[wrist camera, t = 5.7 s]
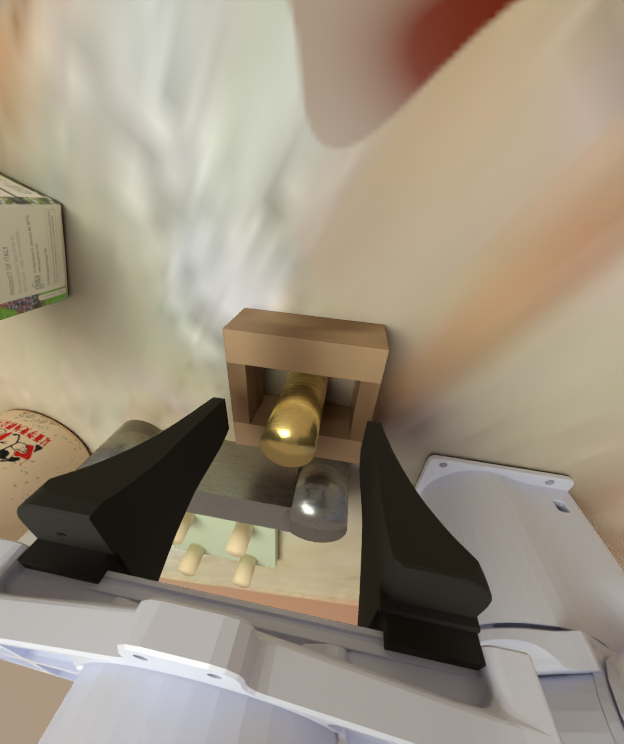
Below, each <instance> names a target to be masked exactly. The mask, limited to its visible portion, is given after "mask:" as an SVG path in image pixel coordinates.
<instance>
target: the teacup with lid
mask: <svg viewBox="0 0 624 744" xmlns="http://www.w3.org/2000/svg"><path fill="white" fill-rule="evenodd" d="M89 456H90V455H89V453H88V451H87V449H86V447H85V446H84V445H83V443H82V442H81V441H80V440H79V439H78V438H77V437H76V436H75V435H74V434H73V433H72V432H70V431H69V430H68V429H67V428H65V427H64V426H62V425H61V424H59V423H57V422H56V421H54V420H52V419H50V418H48V417H45V416H43V415H40V414H38V413H34V412H30V411H25V410H11V411H7V412H5V413H2V414H1V415H0V538H4V539H8V540H13V541H18V540H19V539H20V538H21V537H22V536H23V535H24V534H25V533H26V532H27V531H28V530H29V529H28V528H27V527H26V526H25V525H24V524H23V523H22V522H21V520H20V519H19V518H18V515H17V508H18V506H20V505H21V504H22V503H23V502H24V501H25V500H26V499H27V498H28V497H30V496H31V495H32V494H33V493H34V492H35V491H36V490H37V489H38V488H40V487H41V486H42V485H43V484H44V483H45V482H46V481H47V480H49V479H50V478H53V477H57V476H60V475H63V474H66V473H69V472H72V471H75V470H76V469H77V468H78V467H79V466H80V465H81V464H82V463H83V462H84V461H85V460H86V459H87V458H88V457H89Z"/></svg>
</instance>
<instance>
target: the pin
mask: <svg viewBox="0 0 624 744" xmlns="http://www.w3.org/2000/svg"><path fill="white" fill-rule="evenodd" d="M327 385H328V376H321V375H314V374H307V373H300V372H292V371H290V372H289V374H288V376H287V379H286V381H285V383H284V386H283V388H282V390H281V393H280V395H279V397H278V400H277V402H276V404H275V407H274V409H273V411H272V414H271V416H270V418H269V421H268V423H267V425H266V428H265V430H264V432H263V435H262V437H261V440H260V446H261V449H262V451H263V453H264V454H265V456H266V457H267V458H269V459H270V460H271V461H273V462H274V463H276V464H279V465H281V466H285V467H300V466H304V465H306V464H308V463H309V462H310V461H311V460H312V459H313V457H314V455H315V450H316V444H317V439H318V434H319V428H320V423H321V417H322V412H323V406H324V401H325V396H326V390H327Z"/></svg>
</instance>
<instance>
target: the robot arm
mask: <svg viewBox="0 0 624 744" xmlns="http://www.w3.org/2000/svg"><path fill="white" fill-rule="evenodd" d="M228 430H229V425H228V417H227V410H226V402H225V399H222V398H215V397H213V398H212V399H210V400H209V401H207V402H206V403H205V404H203V405H202V406H200V407H199V408H197V409H196V410H195V411H193V412H192V413H190V414H189V415H187V416H186V417H184V418H183V419H181V420H180V421H179V422H177V423H175V424H174V425H172V426H170V427H169V428H167V429H166V430H164V431H162V432H161V433H159V434H157V435H156V436H154V437H152V438H150V439H148V440H146V441H145V442H143V443H141V444H139V445H137V446H135V447H133V448H130V449H128V450H126V451H124V452H122V453H119V454H117V455H115V456H113V457H110V458H108V459H105V460H103V461H100V462H98V463H95V464H92V465H90V466H87V467H84V468H81V469H78V470H75V471H72V472H69V473H66V474H63V475H60V476H57V477H53V478H50V479H49V480H47V481H46V482H45V483H44V484H43V485H42V486H41V487H40V488H38V489H37V490H36V491H35V492H34V493H33V494H32V495H31V496H30V497H28V498H27V499H26V500H25V501H24V502H23V503H22V504H21V505H20V506H18V508H17V515H18V518H19V519H20V520H21V522H22V523H23V524H24V525H25V526H26V527H27V528H28V529H29V530H30V531H31V532H32V533H33V534H34V536H35V537H36V538H37V539H36V540H35V541H34V542H33V544H32V545H31V546H28V545H26V544H24V543H21V542H17V541H13V540H8V539H4V538H0V659H2V660H6V661H9V662H12V663H15V664H19V665H22V666H25V667H29V668H32V669H36V670H38V671H42V672H45V673H48V674H52V675H55V676H58V677H61V678H65V679H68V680H71V681H74V683H73V685H72V687H71V689H70V690H69V692H68V694H67V695H66V697H65V699H64V700H63V702H62V704H61V706H60V707H59V709H58V710H57V712H56V714H55V716H54V717H53V719H52V721H51V722H50V724H49V726H48V728H47V729H46V731H45V732H44V734H43V736H42V738H41V739H40V741H39V743H38V744H624V571H623V569H622V568H621V566H620V565H619V563H618V562H617V561H616V559H615V558H614V556H613V555H612V554H611V552H610V551H609V549H608V548H607V546H606V545H605V544H604V542H603V541H602V539H601V538H600V536H599V535H598V534H597V532H596V531H595V529H594V528H593V526H592V525H591V524H590V522H589V521H588V519H587V518H586V516H585V515H584V514H583V512H582V511H581V509H580V508H579V507H578V505H577V504H576V502H575V501H574V499H573V498H572V497H571V495H570V494H569V492H568V491H569V490H570V489H571V488H572V487H573V485H574V482H573V480H572V479H571V478H570V477H568V476H563V475H557V474H551V473H545V472H539V471H532V470H526V469H520V468H514V467H508V466H501V465H495V464H489V463H483V462H477V461H470V460H464V459H458V458H452V457H445V456H439V455H432V456H430V457H429V458H428V459H427V461H426V464H425V466H424V468H423V470H422V473H421V475H420V477H419V479H418V482H417V484H416V486H415V488H414V487H413V485H412V484H411V482H410V480H409V479H408V477H407V476H406V474H405V472H404V471H403V469H402V467H401V465H400V464H399V462H398V460H397V458H396V456H395V454H394V452H393V450H392V448H391V446H390V444H389V442H388V439H387V437H386V435H385V432H384V430H383V427H382V425H381V423H378V422H371V421H367V424H366V429H365V433H364V437H363V441H362V445H361V450H360V468H359V471H360V488H361V504H362V551H361V575H360V595H359V612H358V626H356V625H351V624H347V623H342V622H338V621H333V620H329V619H324V618H320V617H315V616H310V615H306V614H301V613H297V612H292V611H288V610H283V609H279V608H275V607H270V606H265V605H261V604H256V603H252V602H247V601H243V600H238V599H234V598H229V597H225V596H220V595H216V594H211V593H206V592H202V591H197V590H193V589H189V588H184V587H180V586H175V585H171V584H166V583H161V582H158V581H159V578H160V575H161V572H162V570H163V567H164V564H165V562H166V559H167V556H168V554H169V551H170V549H171V546H172V544H173V541H174V539H175V536H176V534H177V531H178V529H179V527H180V524H181V522H182V520H183V517H184V515H185V513H186V511H187V508H188V506H189V504H190V502H191V500H192V498H193V495H194V493H195V491H196V489H197V488H198V486H199V484H200V482H201V480H202V479H203V477H204V475H205V474H206V472H207V470H208V469H209V467H210V465H211V463H212V462H213V460H214V458H215V457H216V455H217V453H218V451H219V450H220V448H221V446H222V444H223V442H224V439H225V437H226V435H227V432H228Z"/></svg>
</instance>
